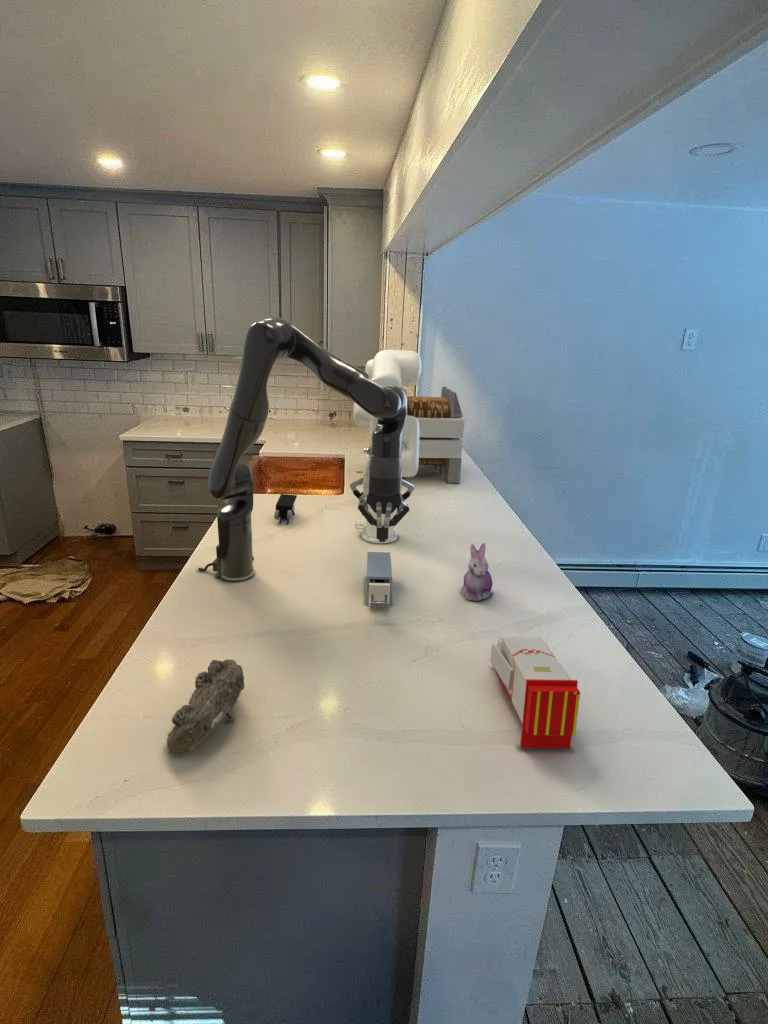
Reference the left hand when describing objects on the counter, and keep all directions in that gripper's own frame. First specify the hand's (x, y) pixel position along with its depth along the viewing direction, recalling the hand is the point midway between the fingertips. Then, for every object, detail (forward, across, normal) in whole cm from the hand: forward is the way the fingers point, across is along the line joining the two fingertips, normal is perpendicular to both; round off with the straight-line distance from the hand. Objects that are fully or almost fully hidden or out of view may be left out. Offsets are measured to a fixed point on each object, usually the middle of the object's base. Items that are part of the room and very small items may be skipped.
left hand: (382, 540), depth 139 cm
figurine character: (+21, -33, +68) cm, 78 cm away
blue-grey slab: (+21, 0, +14) cm, 25 cm away
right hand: (-1, 0, +17) cm, 17 cm away
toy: (+21, +30, -33) cm, 49 cm away
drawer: (+20, 0, +7) cm, 21 cm away
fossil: (+21, -32, -39) cm, 55 cm away
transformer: (+21, +22, +136) cm, 139 cm away
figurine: (+21, +28, +13) cm, 37 cm away
